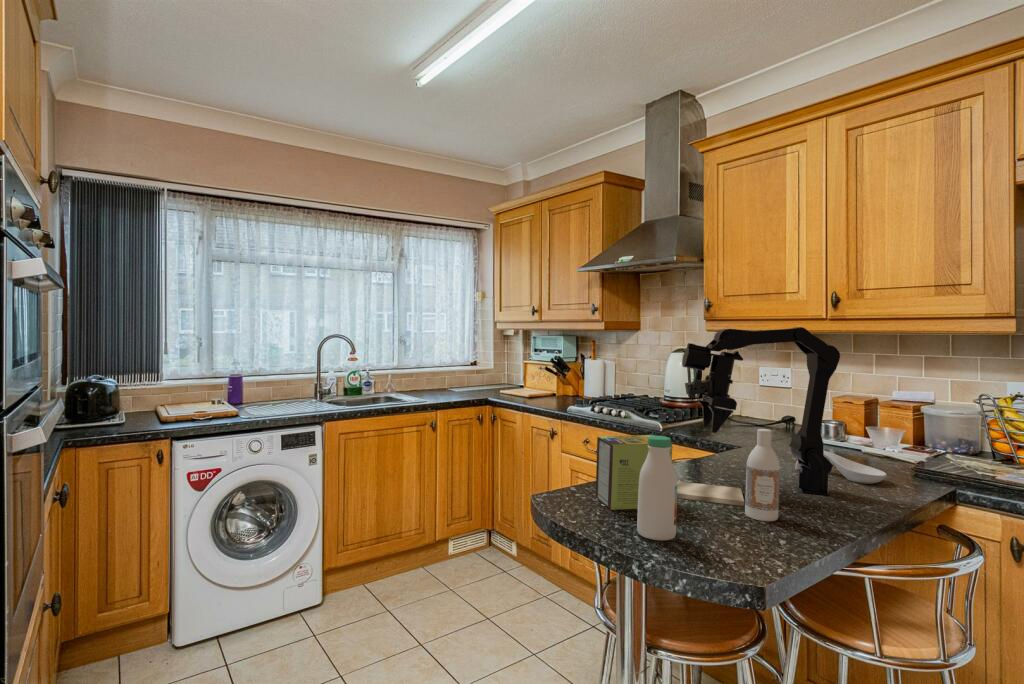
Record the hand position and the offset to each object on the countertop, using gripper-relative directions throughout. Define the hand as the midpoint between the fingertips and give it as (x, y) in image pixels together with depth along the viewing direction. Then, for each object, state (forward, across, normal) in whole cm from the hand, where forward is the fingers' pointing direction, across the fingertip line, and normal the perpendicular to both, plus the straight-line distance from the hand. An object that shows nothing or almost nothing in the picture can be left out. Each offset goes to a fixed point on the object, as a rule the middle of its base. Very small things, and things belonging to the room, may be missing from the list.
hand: (709, 429), depth 149 cm
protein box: (+19, +20, -20) cm, 34 cm away
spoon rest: (+9, -18, +45) cm, 49 cm away
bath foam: (+14, +25, +8) cm, 30 cm away
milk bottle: (+18, +41, -18) cm, 48 cm away
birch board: (+16, +10, 0) cm, 18 cm away
